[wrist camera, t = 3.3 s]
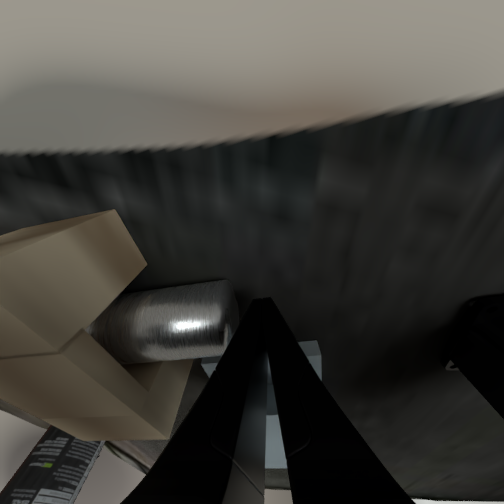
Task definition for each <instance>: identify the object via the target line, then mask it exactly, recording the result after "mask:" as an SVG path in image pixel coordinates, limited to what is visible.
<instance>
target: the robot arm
mask: <svg viewBox="0 0 504 504" xmlns="http://www.w3.org/2000/svg"><path fill="white" fill-rule="evenodd" d="M268 360H269V366H270V372H271V377H272V383H273V389H274V395H275V400H276V406H277V412H278V418H279V423H280V429H281V435H282V440H283V446H284V452H285V458H286V461H287V462H286V463H287V469H288V475H289V481H290V487H291V493H292V500H293V504H416V503H415V502H414V501H413V500H412V499H411V498H410V497H409V496H408V495H407V494H406V492H405V491H404V490H403V489H402V488H401V487H400V485H399V484H398V483H397V482H396V481H395V479H394V478H393V477H392V476H391V474H390V473H389V472H388V471H387V469H386V468H385V467H384V466H383V464H382V463H381V462H380V460H379V459H378V458H377V457H376V455H375V454H374V453H373V451H372V450H371V449H370V447H369V446H368V445H367V443H366V442H365V441H364V439H363V438H362V437H361V435H360V434H359V433H358V431H357V430H356V429H355V427H354V426H353V425H352V423H351V422H350V421H349V419H348V418H347V417H346V415H345V414H344V413H343V411H342V410H341V409H340V407H339V406H338V404H337V403H336V402H335V400H334V399H333V397H332V396H331V394H330V393H329V392H328V390H327V389H326V387H325V386H324V384H323V382H322V381H321V379H320V378H319V376H318V375H317V373H316V371H315V370H314V368H313V366H312V365H311V363H310V362H309V360H308V358H307V357H306V355H305V353H304V352H303V350H302V348H301V347H300V345H299V343H298V342H297V340H296V338H295V337H294V335H293V333H292V332H291V330H290V328H289V327H288V325H287V323H286V322H285V320H284V318H283V317H282V315H281V313H280V311H279V310H278V308H277V306H276V305H275V303H274V301H273V300H272V298H271V297H268V298H263V299H261V298H259V299H253V300H252V302H251V304H250V306H249V308H248V309H247V311H246V313H245V315H244V317H243V318H242V320H241V322H240V324H239V326H238V328H237V329H236V331H235V333H234V335H233V337H232V338H231V340H230V342H229V344H228V346H227V347H226V349H225V351H224V353H223V355H222V357H221V358H220V360H219V362H218V364H217V366H216V367H215V370H216V371H215V370H214V371H213V373H212V375H211V376H210V378H209V380H208V382H207V383H206V385H205V387H204V389H203V390H202V392H201V394H200V395H199V397H198V399H197V400H196V402H195V403H194V405H193V406H192V408H191V410H190V411H189V413H188V414H187V416H186V417H185V419H184V420H183V422H182V423H181V425H180V426H179V428H178V429H177V431H176V432H175V434H174V435H173V437H172V438H171V440H170V441H169V443H168V444H167V445H166V447H165V448H164V450H163V451H162V453H161V454H160V456H159V457H158V459H157V460H156V462H155V463H154V465H153V466H152V468H151V469H150V470H149V472H148V473H147V474H146V476H145V477H144V478H143V480H142V481H141V482H140V483H139V484H138V486H137V487H136V488H135V489H134V490H133V491H132V492H131V493H130V494H129V495H128V496H127V497H126V498H125V499H124V500H123V501H122V502H121V503H120V504H264V488H265V451H266V415H267V378H268ZM440 363H441V364H442V365H443V366H444V368H445V369H446V370H450V371H452V370H460V371H461V372H462V373H463V375H464V376H465V377H466V378H467V379H468V380H469V381H470V382H471V383H472V385H473V386H474V387H475V388H476V389H477V390H478V391H479V392H480V393H481V395H482V396H483V397H484V398H485V399H486V400H487V401H488V402H489V403H490V404H491V406H492V407H493V408H494V409H495V410H496V411H497V412H498V413H499V414H500V416H501V417H502V418H503V419H504V296H497V297H487V298H483V299H480V300H478V301H477V302H475V303H474V304H473V306H472V308H471V309H470V311H469V313H468V314H467V316H466V318H465V320H464V321H463V323H462V325H461V327H460V328H459V330H458V332H457V333H456V335H455V337H454V339H453V340H452V342H451V344H450V345H449V347H448V349H447V351H446V352H445V354H444V356H443V358H442V359H441V361H440Z"/></svg>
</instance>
